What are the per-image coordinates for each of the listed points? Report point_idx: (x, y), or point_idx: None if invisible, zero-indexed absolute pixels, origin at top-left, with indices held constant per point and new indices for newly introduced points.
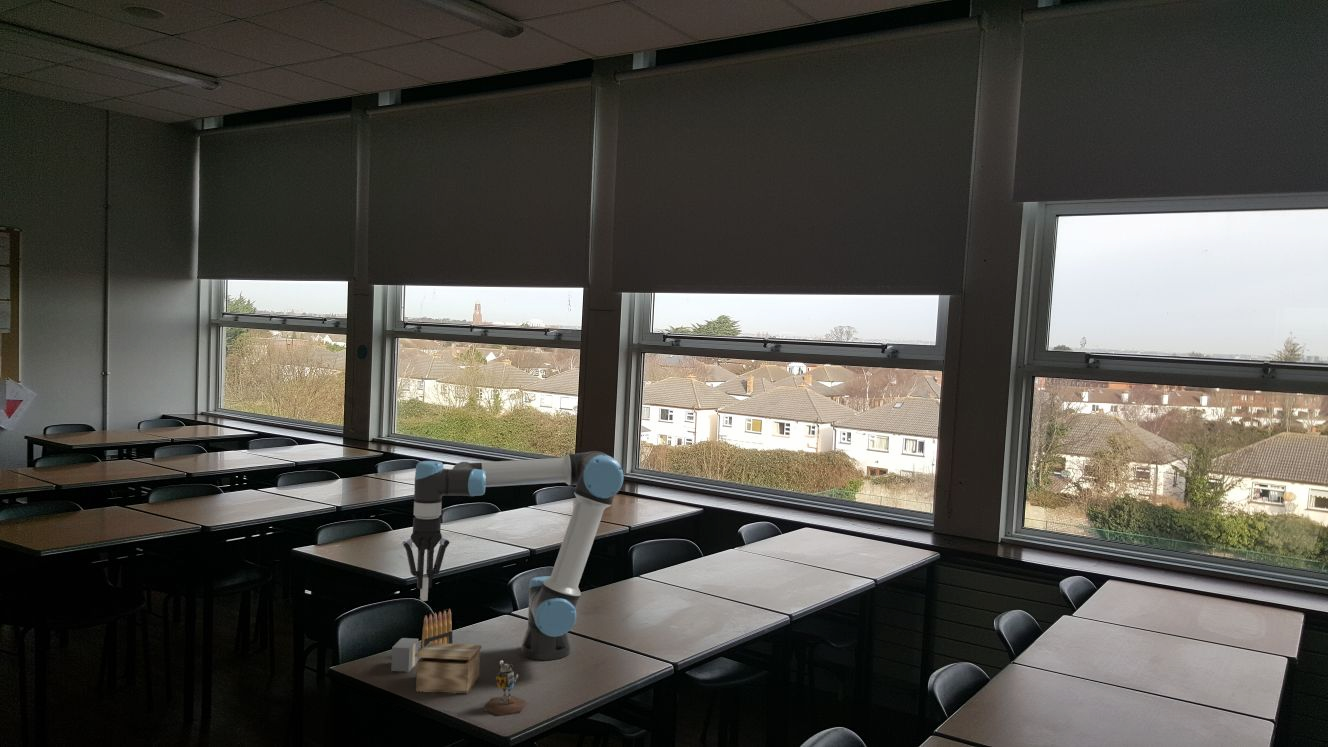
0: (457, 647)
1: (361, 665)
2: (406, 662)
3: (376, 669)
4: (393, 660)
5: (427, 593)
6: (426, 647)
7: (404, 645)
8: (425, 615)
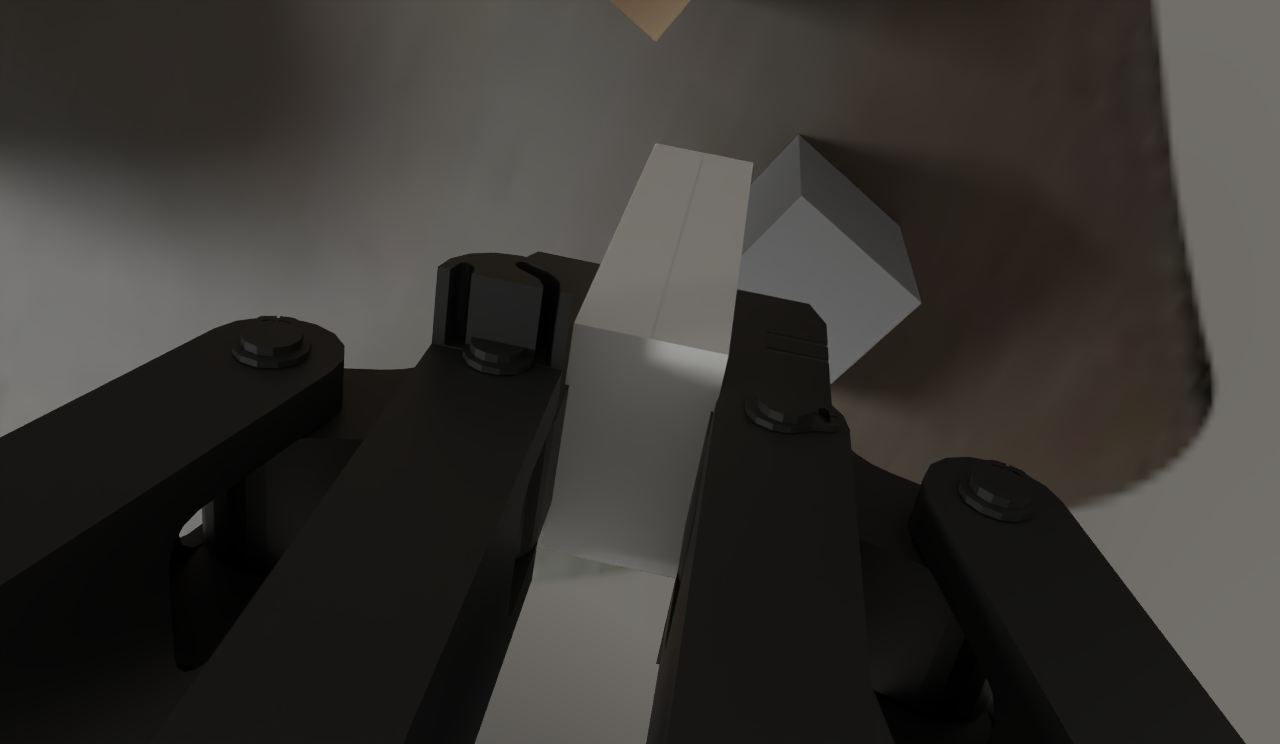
0: None
1: (1016, 447)
2: (815, 169)
3: (969, 322)
4: (896, 248)
5: (645, 183)
6: None
7: (804, 287)
8: None
